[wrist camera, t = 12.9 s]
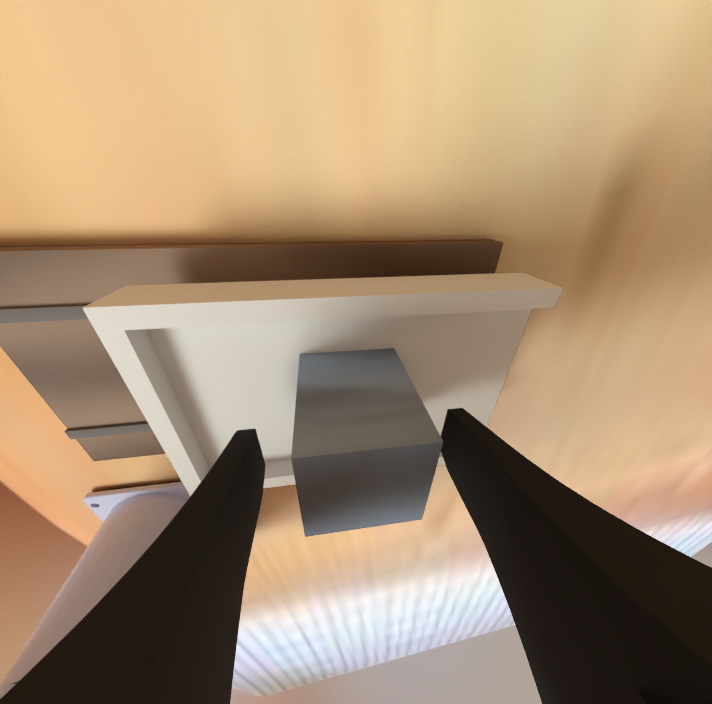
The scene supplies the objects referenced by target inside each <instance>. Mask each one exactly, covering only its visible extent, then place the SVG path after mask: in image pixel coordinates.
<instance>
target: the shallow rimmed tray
mask: <svg viewBox="0 0 712 704" xmlns="http://www.w3.org/2000/svg"><path fill="white" fill-rule="evenodd" d="M562 290H563V287H560V286H557V285H555V284H552V283H549V282H547V281H544V280H541V279H539V278H536V277H533V276H531V275H528V274H526V273H495V274H464V275H434V276H403V277H372V278H341V279H310V280H280V281H249V282H218V283H187V284H157V285H127V286H125V287H123V288H121V289H119V290H117V291H115V292H113V293H111V294H109V295H107V296H105V297H103V298H101V299H99V300H97V301H95V302H93V303H91V304H88V305H86V306H84V307H82V308H83V310H84V312H85V314H86V315H87V317H88V319H89V321H90V322H91V324H92V326H93V328H94V329H95V331H96V333H97V335H98V336H99V338H100V340H101V342H102V343H103V345H104V347H105V349H106V350H107V352H108V354H109V356H110V357H111V359H112V361H113V363H114V364H115V366H116V368H117V370H118V371H119V373H120V375H121V376H122V378H123V380H124V382H125V383H126V385H127V387H128V389H129V390H130V392H131V394H132V396H133V397H134V399H135V401H136V403H137V404H138V406H139V408H140V410H141V411H142V413H143V415H144V417H145V418H146V420H147V422H148V424H149V425H150V427H151V429H152V431H153V432H154V434H155V436H156V438H157V439H158V441H159V443H160V445H161V446H162V448H163V450H164V451H165V453H166V455H167V457H168V458H169V460H170V462H171V464H172V465H173V467H174V469H175V471H176V472H177V474H178V476H179V478H180V479H181V481H182V483H183V485H184V486H185V488H186V490H187V492H188V493H189V495H190V496H191V495H192V494H193V492H194V491H195V490H196V488H197V487H198V485H199V484H200V483H201V481H202V480H203V479H204V477H205V476H206V474H207V473H208V472H209V470H210V469H211V468H212V466H213V465H214V463H215V462H216V460H217V459H218V457H219V456H220V455H221V453H222V452H223V450H224V449H225V447H226V446H227V444H228V443H229V441H230V440H231V438H232V437H233V435H234V434H235V432H236V431H237V430H245V429H256V432H257V436H258V439H259V443H260V447H261V450H262V454H263V458H264V461H265V476H264V486H263V488H271V487H279V486H287V485H295V484H296V483H295V477H294V472H293V466H292V461H291V454H292V442H293V430H294V417H295V405H296V393H297V380H298V368H299V356H300V354H306V353H322V352H338V351H355V350H371V349H387V348H394V349H395V351H396V353H397V355H398V356H399V358H400V360H401V362H402V364H403V366H404V368H405V370H406V372H407V374H408V375H409V377H410V379H411V381H412V383H413V385H414V387H415V389H416V391H417V393H418V394H419V396H420V398H421V400H422V402H423V404H424V406H425V408H426V410H427V412H428V413H429V415H430V417H431V419H432V421H433V423H434V425H435V427H436V429H437V431H438V432H439V434H440V436H441V433H442V429H443V425H444V421H445V417H446V414H447V410H448V409H455V408H463V409H465V410H466V411H467V412H468V413H470V414H471V415H472V416H473V417H475V418H476V419H477V420H478V421H480V422H481V423H482V424H483V425H485V426H486V427H487V426H488V424H489V421H490V419H491V416H492V413H493V411H494V408H495V405H496V403H497V400H498V398H499V395H500V392H501V390H502V387H503V385H504V382H505V379H506V377H507V374H508V371H509V369H510V366H511V364H512V361H513V358H514V356H515V353H516V351H517V348H518V345H519V343H520V340H521V337H522V335H523V332H524V330H525V327H526V324H527V322H528V319H529V317H530V314H531V311H532V309H546V308H555V306H556V304H557V302H558V299H559V297H560V295H561V292H562ZM443 465H446V464H445V462H444V459H443V456H442V453H441V452H440V456H439V459H438V463H437V466H443Z"/></svg>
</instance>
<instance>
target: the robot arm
mask: <svg viewBox="0 0 712 704" xmlns="http://www.w3.org/2000/svg"><path fill="white" fill-rule="evenodd" d="M441 438H442V440H443V445H442V448H441V453H442V456H443V459H444V462H445V464H446V467H447V469H448V472H449V474H450V476H451V478H452V480H453V482H454V484H455V486H456V488H457V490H458V492H459V494H460V496H461V498H462V500H463V502H464V504H465V506H466V508H467V510H468V512H469V514H470V516H471V518H472V520H473V522H474V523H475V525H476V527H477V529H478V531H479V534H480V536H481V538H482V540H483V542H484V544H485V547H486V549H487V552H488V554H489V557H490V559H491V562H492V564H493V567H494V569H495V571H496V574H497V576H498V579H499V582H500V584H501V587H502V590H503V592H504V595H505V597H506V600H507V603H508V605H509V608H510V610H511V613H512V616H513V619H514V622H515V624H516V627H517V630H518V633H519V636H520V638H521V641H522V644H523V647H524V650H525V652H526V655H527V658H528V661H529V665H530V668H531V670H532V674H533V677H534V680H535V682H536V686H537V689H538V692H539V695H540V698H541V701H542V704H712V568H711V567H709V566H707V565H705V564H703V563H701V562H698V561H697V560H695V559H693V558H691V557H689V556H687V555H685V554H683V553H681V552H679V551H677V550H675V549H674V548H672V547H670V546H668V545H666V544H664V543H662V542H660V541H658V540H656V539H655V538H653V537H651V536H649V535H647V534H645V533H644V532H642V531H640V530H638V529H636V528H635V527H633V526H631V525H629V524H628V523H626V522H624V521H622V520H621V519H619V518H617V517H615V516H614V515H612V514H610V513H608V512H607V511H605V510H603V509H602V508H600V507H598V506H597V505H595V504H593V503H592V502H590V501H589V500H587V499H586V498H584V497H582V496H581V495H579V494H578V493H576V492H575V491H573V490H571V489H570V488H568V487H567V486H565V485H564V484H562V483H561V482H559V481H558V480H556V479H555V478H553V477H552V476H550V475H549V474H548V473H546V472H545V471H543V470H542V469H541V468H539V467H538V466H536V465H535V464H534V463H532V462H531V461H529V460H528V459H527V458H525V457H524V456H523V455H521V454H520V453H519V452H517V451H516V450H515V449H514V448H512V447H511V446H510V445H508V444H507V443H506V442H505V441H503V440H502V439H501V438H499V437H498V436H497V435H496V434H494V433H493V432H492V431H491V430H490V429H488V428H487V427H486V426H485V425H483V424H482V423H481V422H480V421H478V420H477V419H476V418H475V417H473V416H472V415H471V414H470V413H468V412H467V411H466V410H465V409H463V408H455V409H448V410H447V414H446V417H445V421H444V425H443V429H442V433H441ZM264 476H265V461H264V458H263V454H262V450H261V447H260V443H259V439H258V436H257V432H256V429H245V430H237V431H236V432H235V434H234V435H233V437H232V438H231V440H230V441H229V443H228V444H227V446H226V447H225V449H224V450H223V452H222V453H221V455H220V456H219V457H218V459H217V460H216V462H215V463H214V465H213V466H212V468H211V469H210V470H209V472H208V473H207V474H206V476H205V477H204V479H203V480H202V481H201V483H200V484H199V485H198V487H197V488H196V490H195V491H194V492H193V494H192V495H191V496H190V495H189V493H188V492H187V490H186V488H185V486H184V485H183V483H182V482H174V483H166V484H157V485H149V486H141V487H132V488H124V489H116V490H107V491H99V492H91V493H88V494H87V495H86V496H85V497H84V499H83V501H84V503H85V504H86V505H87V506H88V507H89V508H90V509H91V510H92V511H93V512H94V513H95V514H96V515H97V516H98V517H99V518H100V519H101V520H102V521H103V524H102V525H101V527H100V528H99V530H98V531H97V533H96V535H95V536H94V538H93V539H92V541H91V542H90V544H89V546H88V547H87V549H86V550H85V552H84V554H83V555H82V557H81V558H80V560H79V562H78V563H77V564H76V566H75V568H74V569H73V571H72V572H71V574H70V576H69V577H68V579H67V580H66V582H65V583H64V585H63V586H62V588H61V590H60V591H59V593H58V594H57V596H56V598H55V599H54V601H53V602H52V604H51V605H50V607H49V608H48V610H47V612H46V613H45V615H44V617H43V618H42V619H41V621H40V623H39V624H38V626H37V627H36V629H35V630H34V632H33V634H32V635H31V637H30V638H29V640H28V641H27V643H26V645H25V646H24V648H23V649H22V651H21V652H20V654H19V656H18V657H17V659H16V660H15V662H14V664H13V665H12V667H11V668H10V670H9V671H8V673H7V674H6V676H5V678H4V679H3V681H2V682H1V684H0V704H230V698H231V689H232V679H233V669H234V661H235V652H236V644H237V636H238V627H239V619H240V612H241V604H242V596H243V589H244V582H245V577H246V571H247V566H248V561H249V557H250V552H251V547H252V543H253V538H254V533H255V528H256V524H257V519H258V514H259V509H260V505H261V500H262V495H263V486H264Z"/></svg>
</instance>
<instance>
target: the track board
mask: <svg viewBox="0 0 712 704" xmlns="http://www.w3.org/2000/svg"><path fill="white" fill-rule="evenodd" d="M502 245H503V243H502V242H499V241H495V240H428V241H361V242H294V243H227V244H160V245H94V246H27V247H0V346H1V348H2V349H3V350H4V351H5V352H6V354H7V355H8V356H9V357H10V359H11V360H12V361H13V362H14V364H15V365H16V366H17V367H18V368H19V370H20V371H21V372H22V373H23V375H24V376H25V377H26V378H27V379H28V381H29V382H30V383H31V384H32V386H33V387H34V388H35V389H36V391H37V392H38V393H39V394H40V395H41V397H42V398H43V399H44V400H45V402H46V403H47V404H48V405H49V407H50V408H51V409H52V410H53V411H54V413H55V414H56V415H57V416H58V418H59V419H60V420H61V421H62V423H63V424H64V425H65V426H66V427H67V430H66V431H65V433H66V434H67V435H68V436H69V437H70V439H76V440H77V441H78V442H79V443H80V445H81V446H82V447H83V448H84V450H85V451H86V452H87V453H88V455H89V456H90V457H91V458H92V459H93V461H101V460H110V459H119V458H129V457H138V456H147V455H157V454H166V453H165V451H164V450H163V448H162V446H161V445H160V443H159V441H158V439H157V438H156V436H155V434H154V432H153V431H152V429H151V427H150V425H149V424H148V422H147V420H146V418H145V417H144V415H143V413H142V411H141V410H140V408H139V406H138V404H137V403H136V401H135V399H134V397H133V396H132V394H131V392H130V390H129V389H128V387H127V385H126V383H125V382H124V380H123V378H122V376H121V375H120V373H119V371H118V370H117V368H116V366H115V364H114V363H113V361H112V359H111V357H110V356H109V354H108V352H107V350H106V349H105V347H104V345H103V343H102V342H101V340H100V338H99V336H98V335H97V333H96V331H95V329H94V328H93V326H92V324H91V322H90V321H89V319H88V317H87V315H86V314H85V312H84V310H83V308H82V307H84V306H86V305H88V304H91V303H93V302H95V301H97V300H99V299H101V298H103V297H105V296H107V295H109V294H111V293H113V292H115V291H117V290H119V289H121V288H123V287H125V286H127V285H157V284H187V283H218V282H249V281H280V280H310V279H341V278H372V277H403V276H434V275H464V274H495V270H496V267H497V263H498V260H499V256H500V253H501V249H502Z"/></svg>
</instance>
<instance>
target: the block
mask: <svg viewBox="0 0 712 704" xmlns="http://www.w3.org/2000/svg"><path fill="white" fill-rule="evenodd" d="M442 445H443V440H442V438H441V436H440V434H439V432H438V431H437V429H436V427H435V425H434V423H433V421H432V419H431V417H430V415H429V413H428V412H427V410H426V408H425V406H424V404H423V402H422V400H421V398H420V396H419V394H418V393H417V391H416V389H415V387H414V385H413V383H412V381H411V379H410V377H409V375H408V374H407V372H406V370H405V368H404V366H403V364H402V362H401V360H400V358H399V356H398V355H397V353H396V351H395V349H394V348H387V349H371V350H355V351H338V352H322V353H306V354H300V356H299V368H298V380H297V393H296V405H295V417H294V430H293V442H292V454H291V461H292V466H293V472H294V477H295V483H296V488H297V494H298V499H299V505H300V510H301V516H302V521H303V527H304V532H305V537H307V536H314V535H320V534H327V533H334V532H340V531H347V530H354V529H360V528H367V527H374V526H380V525H387V524H394V523H400V522H407V521H414V520H420V519H422V517H423V513H424V510H425V506H426V503H427V499H428V495H429V492H430V488H431V484H432V481H433V477H434V474H435V470H436V466H437V463H438V459H439V456H440V452H441V448H442Z"/></svg>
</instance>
